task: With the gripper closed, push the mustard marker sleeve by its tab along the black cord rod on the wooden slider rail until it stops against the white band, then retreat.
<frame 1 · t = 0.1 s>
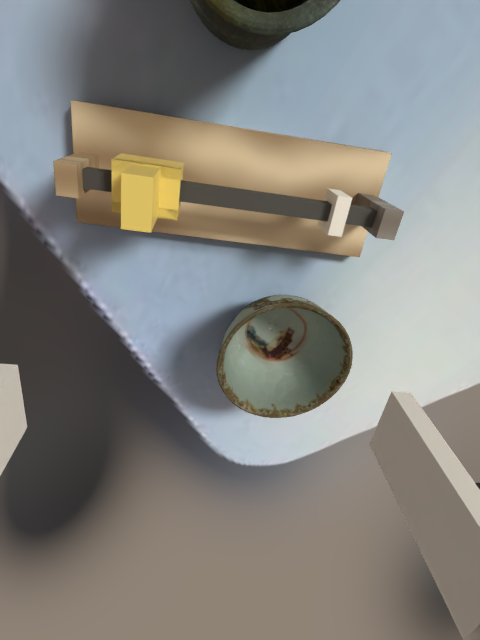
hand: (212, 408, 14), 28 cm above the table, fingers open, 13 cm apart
cord rod: (235, 198, 32), point 5 cm above the table
wooden slider rail: (231, 185, 37), on the table
bowl: (272, 325, 45), on the table
band: (334, 212, 33), point 6 cm above the table
sleeve: (145, 191, 29), point 8 cm above the table, slide at -7.0 cm
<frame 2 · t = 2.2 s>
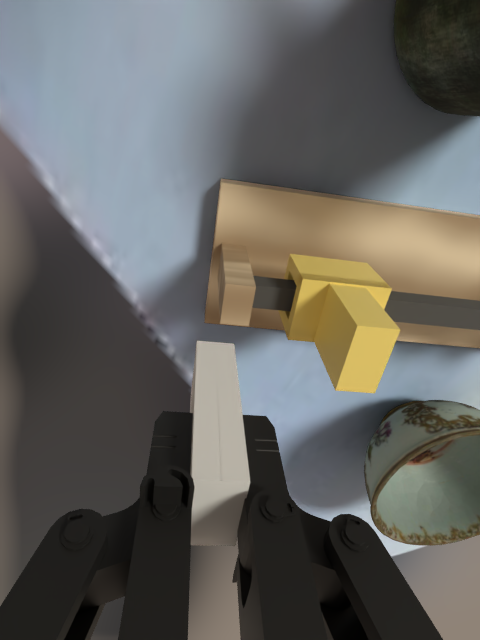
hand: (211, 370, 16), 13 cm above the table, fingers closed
cord rod: (436, 310, 24), point 5 cm above the table
wooden slider rail: (396, 273, 29), on the table
bowl: (409, 422, 38), on the table
sleeve: (340, 317, 21), point 8 cm above the table, slide at -7.0 cm
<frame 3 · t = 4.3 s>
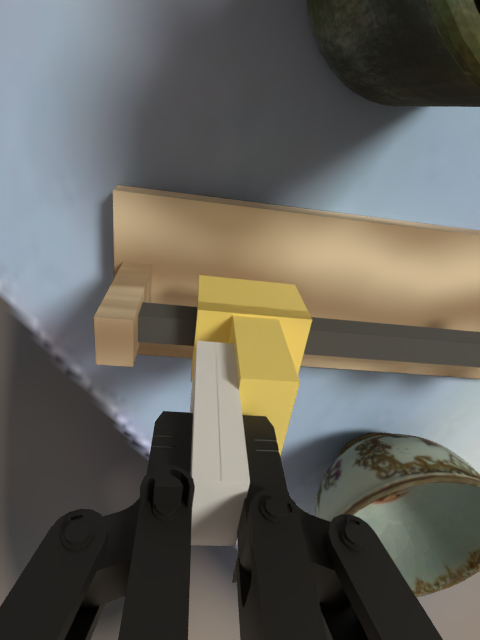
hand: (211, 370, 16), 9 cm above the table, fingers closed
cord rod: (374, 340, 20), point 5 cm above the table
wooden slider rail: (339, 292, 25), on the table
bowl: (371, 455, 34), on the table
sleeve: (250, 355, 17), point 8 cm above the table, slide at -6.8 cm, touching gripper
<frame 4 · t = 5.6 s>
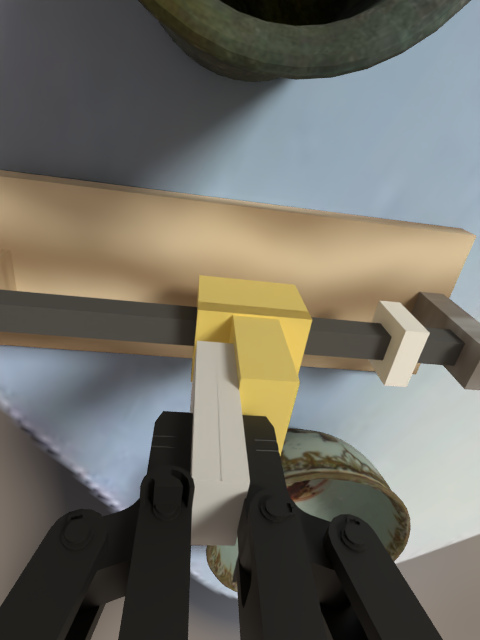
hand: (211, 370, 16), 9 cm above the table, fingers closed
cord rod: (231, 329, 19), point 5 cm above the table
wooden slider rail: (225, 280, 24), on the table
bowl: (286, 451, 33), on the table
band: (392, 342, 20), point 6 cm above the table
sleeve: (250, 355, 17), point 8 cm above the table, slide at 0.7 cm, touching gripper
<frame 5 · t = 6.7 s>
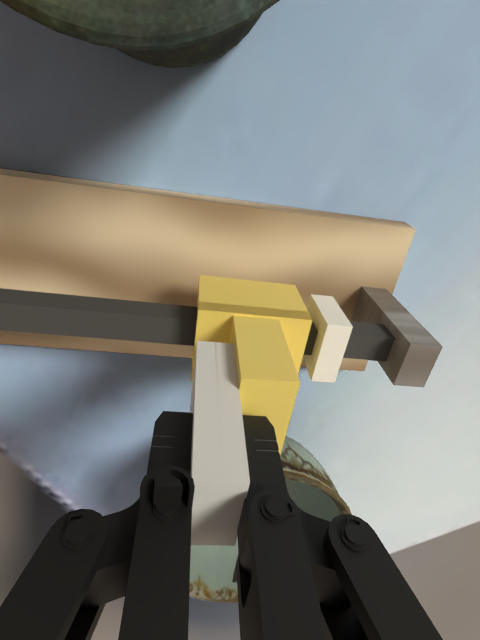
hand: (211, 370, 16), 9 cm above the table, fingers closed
cord rod: (152, 322, 19), point 5 cm above the table
wooden slider rail: (164, 274, 24), on the table
bowl: (241, 450, 32), on the table
band: (322, 337, 20), point 6 cm above the table
sleeve: (250, 355, 17), point 8 cm above the table, slide at 4.5 cm, touching gripper
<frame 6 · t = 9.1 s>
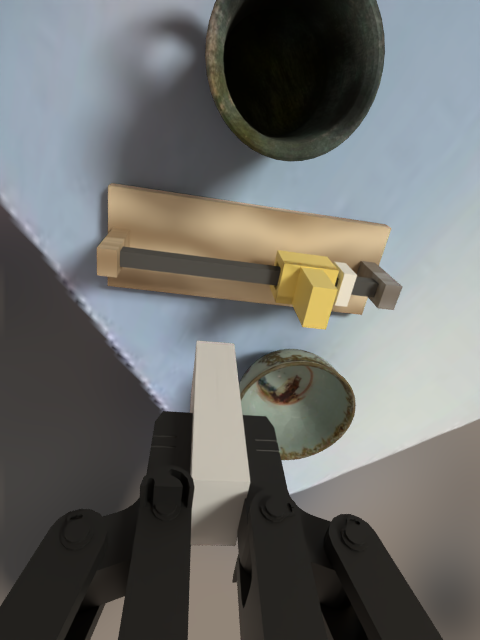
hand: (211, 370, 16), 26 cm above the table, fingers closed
cord rod: (253, 272, 36), point 5 cm above the table
mug: (257, 59, 33), on the table
wooden slider rail: (247, 252, 41), on the table
bowl: (281, 372, 49), on the table
band: (340, 283, 37), point 6 cm above the table
sleeve: (307, 288, 35), point 8 cm above the table, slide at 4.7 cm
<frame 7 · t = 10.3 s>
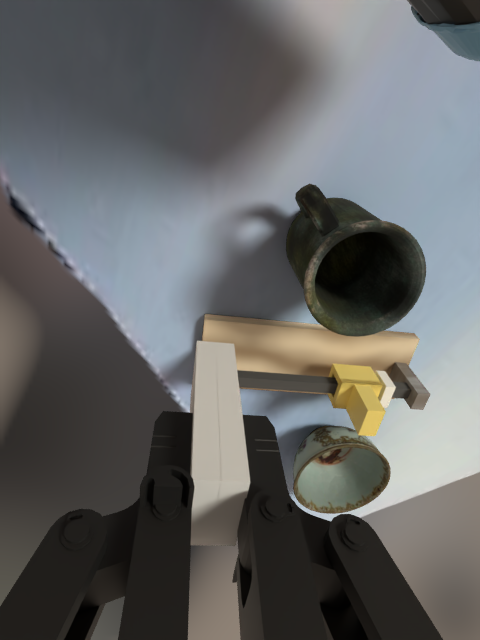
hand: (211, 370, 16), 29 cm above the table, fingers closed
cord rod: (315, 384, 47), point 5 cm above the table
mug: (321, 230, 44), on the table
wooden slider rail: (304, 356, 52), on the table
bowl: (326, 438, 60), on the table
band: (381, 388, 48), point 6 cm above the table
sleeve: (358, 398, 46), point 8 cm above the table, slide at 4.7 cm
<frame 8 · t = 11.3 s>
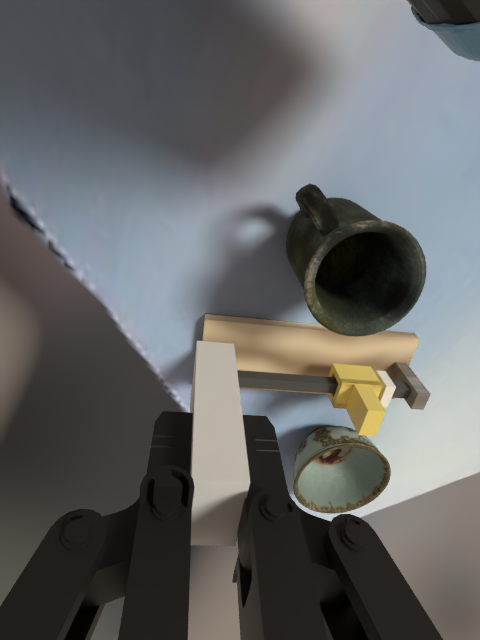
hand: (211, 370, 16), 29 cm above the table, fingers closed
cord rod: (316, 384, 47), point 5 cm above the table
mug: (321, 230, 44), on the table
wooden slider rail: (305, 356, 52), on the table
bowl: (326, 438, 60), on the table
band: (381, 388, 48), point 6 cm above the table
sleeve: (358, 398, 46), point 8 cm above the table, slide at 4.7 cm
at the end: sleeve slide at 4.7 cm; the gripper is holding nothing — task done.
